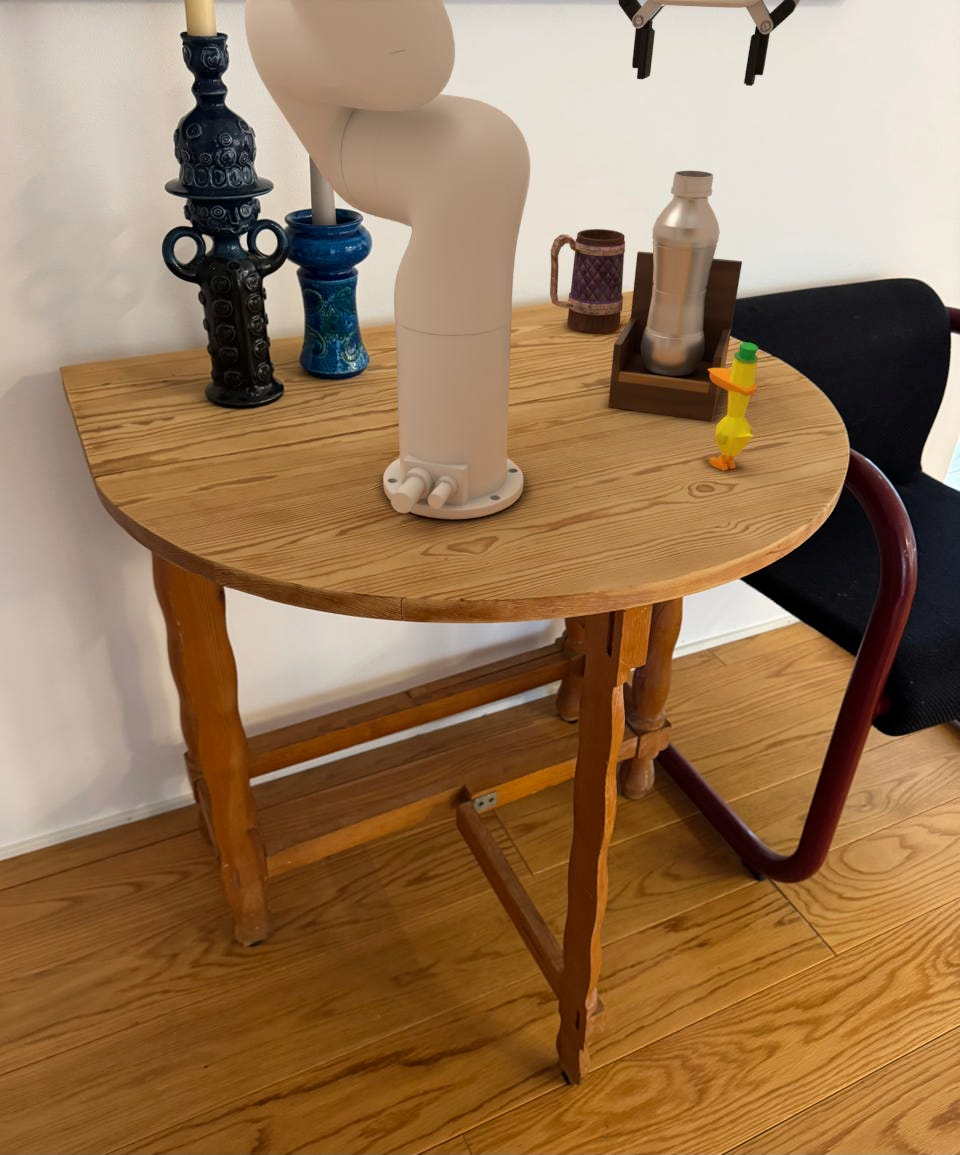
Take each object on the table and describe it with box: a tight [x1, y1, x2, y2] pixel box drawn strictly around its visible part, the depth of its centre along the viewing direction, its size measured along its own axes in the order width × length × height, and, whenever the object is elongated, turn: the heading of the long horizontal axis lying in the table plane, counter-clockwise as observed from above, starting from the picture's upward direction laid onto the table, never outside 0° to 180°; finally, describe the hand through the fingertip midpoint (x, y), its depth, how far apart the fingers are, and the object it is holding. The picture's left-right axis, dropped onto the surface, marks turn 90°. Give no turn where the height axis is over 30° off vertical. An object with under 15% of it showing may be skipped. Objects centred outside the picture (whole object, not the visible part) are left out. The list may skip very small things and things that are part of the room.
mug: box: [549, 228, 626, 335], centre depth 121 cm, size 10×7×12 cm
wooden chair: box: [607, 250, 743, 422], centre depth 101 cm, size 10×11×14 cm
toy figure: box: [708, 342, 759, 472], centre depth 87 cm, size 7×4×12 cm, turn 30°
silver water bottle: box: [641, 170, 721, 376], centre depth 97 cm, size 6×7×20 cm
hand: (695, 81), depth 87 cm, fingers open, 9 cm apart
